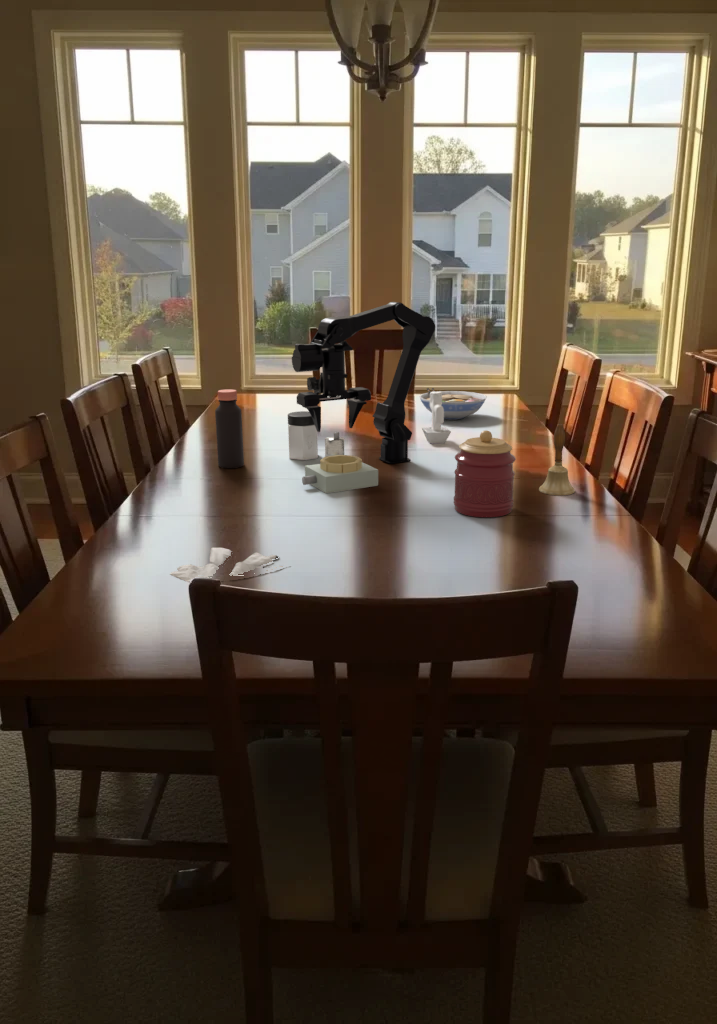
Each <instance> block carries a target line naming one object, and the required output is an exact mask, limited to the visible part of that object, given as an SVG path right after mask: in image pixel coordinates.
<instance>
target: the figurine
mask: <svg viewBox="0 0 717 1024" xmlns="http://www.w3.org/2000/svg"><path fill="white" fill-rule="evenodd" d="M441 391H442V390H439V392H438V391H431V393H430V409H431V410H432V413H431V427H421V430H422V432H423V434H424V436H425V439H426V441H427V442H428V443H429V444H431V445H432V444H433V445H436V444H446V442H447V440H448V438H449V436H450V435H451V433H452V431H451V430H450V429H448V428H447V427H445V426H441V425H443V424H444V422H445V421H444V420H445V419H444V409H443V407H442V406H441V404H442V392H441Z"/></svg>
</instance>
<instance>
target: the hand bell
mask: <svg viewBox="0 0 717 1024" xmlns="http://www.w3.org/2000/svg"><path fill="white" fill-rule="evenodd" d="M565 443H566V432H565V429H564V424H562V423H557V426H556V427H555V430H554V433H553V446H554V450H555V453H554V465H553V466H551V467H549V468H548V471H547V475H546V478H545V480H544V482H543V484H541V485H540V486H539V488H538V491H539V492H540V493H541V494H542V493H543V494H544V495H548V496H558V497H559V496H561V497H562V496H571V495H572V494H574V493H576V490H575V487H573V486H572V485H571V482H570V479H569V470H568V468H567V467H565V466H563V449H564V446H565Z"/></svg>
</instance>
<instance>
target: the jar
mask: <svg viewBox="0 0 717 1024" xmlns="http://www.w3.org/2000/svg"><path fill="white" fill-rule="evenodd" d="M287 424H288V427H287V430H288V433H287V434H288V458H289V459H291V460H297V461H298V460H299V461H307V460H314V459H318V458H319V454H318V453H319V451H318V450H319V448H318V445H319V444H318V432H317V430H316V427H315V424H314V422H313V419H312V417H311V414H310V413H309V411H307V410H306V411H303V410H302V411H301V410H300V411H293V412H290V413H288V414H287Z"/></svg>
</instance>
